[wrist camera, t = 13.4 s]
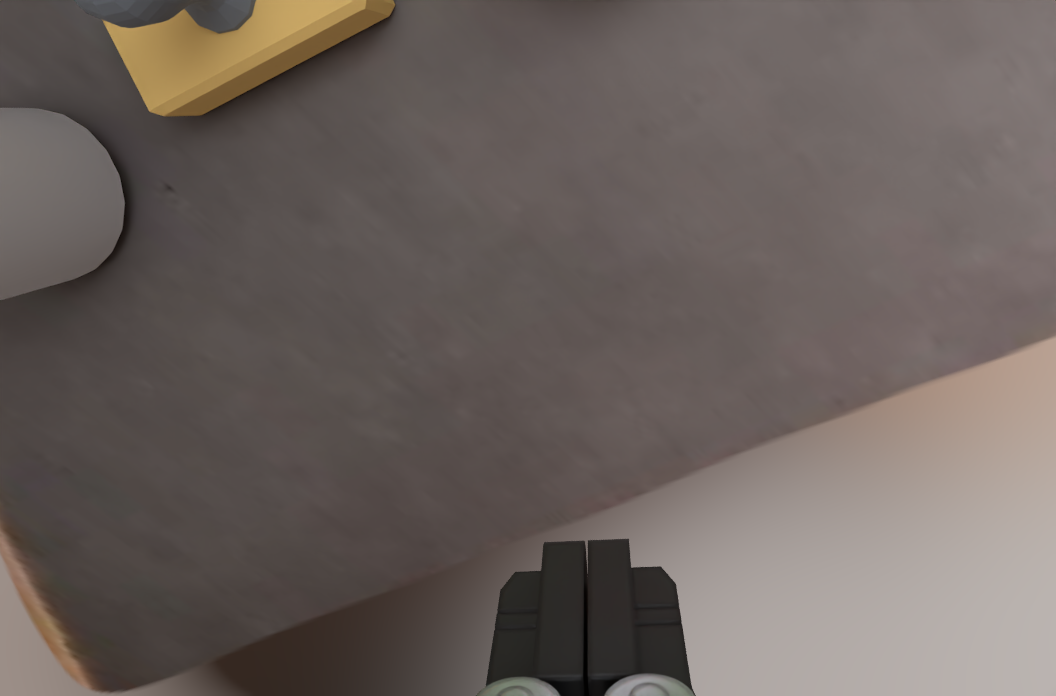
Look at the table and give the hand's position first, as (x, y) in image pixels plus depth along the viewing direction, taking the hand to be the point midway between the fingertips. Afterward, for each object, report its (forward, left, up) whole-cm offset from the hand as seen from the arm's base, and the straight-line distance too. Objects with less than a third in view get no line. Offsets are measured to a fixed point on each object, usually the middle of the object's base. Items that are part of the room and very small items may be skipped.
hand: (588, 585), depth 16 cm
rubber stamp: (-14, +14, -24) cm, 31 cm away
